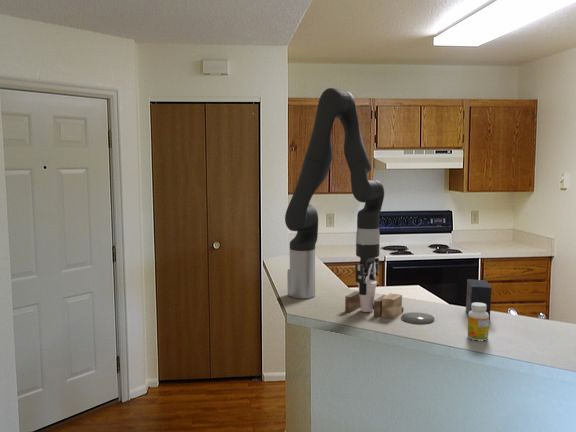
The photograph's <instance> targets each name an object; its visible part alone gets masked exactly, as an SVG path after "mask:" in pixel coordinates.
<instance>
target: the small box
mask: <svg viewBox="0 0 576 432" xmlns="http://www.w3.org/2000/svg"><path fill="white" fill-rule="evenodd" d="M465 301H466V302H465V303H466V304H465V311H466V313H467V315H468V313H469V312H470V311H471V310H472V309H471V304H472V303H475V302H478V303H484V304H486V305H487V309H486V312H487V313H488V314H489V321H490V320H491V306H492V286H491V285H490V284H489V282H488V281H487V280H485V279H484V280H483V279H470V278H468V279H466V300H465Z"/></svg>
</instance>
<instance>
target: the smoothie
mask: <svg viewBox="0 0 576 432" xmlns="http://www.w3.org/2000/svg"><path fill="white" fill-rule="evenodd" d="M356 283H357V287H359V283H358V282H356ZM366 284H367V286H366V295H360V294H359V296H360V305H361V307H360V311H361V312H363V313H371V312H373V311H374V308H373V303H374V300H375V296H376V295H375V294H376V287H377V286H378V281H377V280H376V279H375V280H369V277H368V278H367V282H366Z"/></svg>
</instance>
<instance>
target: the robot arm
mask: <svg viewBox="0 0 576 432" xmlns="http://www.w3.org/2000/svg"><path fill="white" fill-rule="evenodd" d="M337 118H338V120H339V121H340V123H341V125H342V128H343V132H344V140H343V153H344V154H343V155H344V158H345V160H346V161H345V162H346V163H347V167H348V169H349V172H350V184H351V186H350V187H351V193H352V195H353V197H354V198H355V200H356V201H358V202H360V203H364V206H363V208H361V209H360V210H358V212H357V219H356V234H355V236H356V237H355V238H356V239H355V255H356V257H358V258H360V259H359V263H356V264H355V266H354V267H355V269H354V270H355V283H359V286H358V291H359V294H360V295H366V286H367V284H366V282H367V278H368V277H369V280H375V281H376V279H377V277H378V276H379V267H380V266H379V265H380V258H379V257H380V245H381V244H380V243H381V241H380V239H381V237H380V236H381V235H380V213H381V211H382V206H383V204H384V198H385V189H384V188H385V187H384V185H383V183H382V182H381V180H378V179H368V173H370V172H371V170H372V163H371V160H370V158H369V156H368V152H367V150H366V147H365V143H364V141H363V137H362V132H361V131H362V130H361V127H360V122H359V116H358V110H357V105H356V102H355V98H354V96H353V94H352V93H351V92H350V91H348V90H346V89H341V88H333V87H329V88H326V89H325V90H324V91H323V92H322V94H321V95H320V97H319V99H318V104H317V108H316V113H315V118H314V124H313V128H312V132H311V136H310V140H309V143H308V147H307V149H306V152H305V155H304V159H303V162H302V166H301V168H300V169H301V170H300V173H299V176H298V179H297V183H296V185H295V188H294V192H293V194H292V196H291V198H290V201H289V203H288V205H287V208H286V211H285V215H284V223H285V225H286V228H287V229H288V230H289V231H290V232H296V234H295V236H294V237H293V238H292V239H291V240H290V241H289V269H288V270H287V273H286V274H287V296H289V297H291V298H295V299H311V298H314V297H315V296H316V244H317V241H318V236H319V235H318V234H319V214H318V211H317V209H316V208H315V206H314V205H312V204H310V202H311V200H312V197H313V195H314V194H315V193H316V192H317V190H318V189H319V188H320V187H321V185H322V183H323V182H324V181H325V180H326V178H327V177H328V173H329V171H330V168H331V165H332V161H333V145H332V140H331V139H332V138H331V135H332V134H331V133H332V129H333V126H334V123H335V122H334V121H335V119H337Z"/></svg>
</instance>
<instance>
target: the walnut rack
mask: <svg viewBox="0 0 576 432" xmlns="http://www.w3.org/2000/svg"><path fill="white" fill-rule="evenodd" d="M344 298H345V300H344V304H345V305H344V307H345V309H344V311H345V312H348V313H352V312H354V311H355V310H357V309H358V308H361V305H360V296H359V290H354V291H353V292H351V293H350V294H346V295H345V296H344ZM404 310H405V308H404V306H403V295H402V294H398V293H388V294H387V295H386V294H382V295H381V296H379V297H377V298H376V299H374V303H373V317H377V318H379V317H382V318H386V319H387V318H389V319H396V318H397V317H398V316H400V315H402V313H404Z"/></svg>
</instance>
